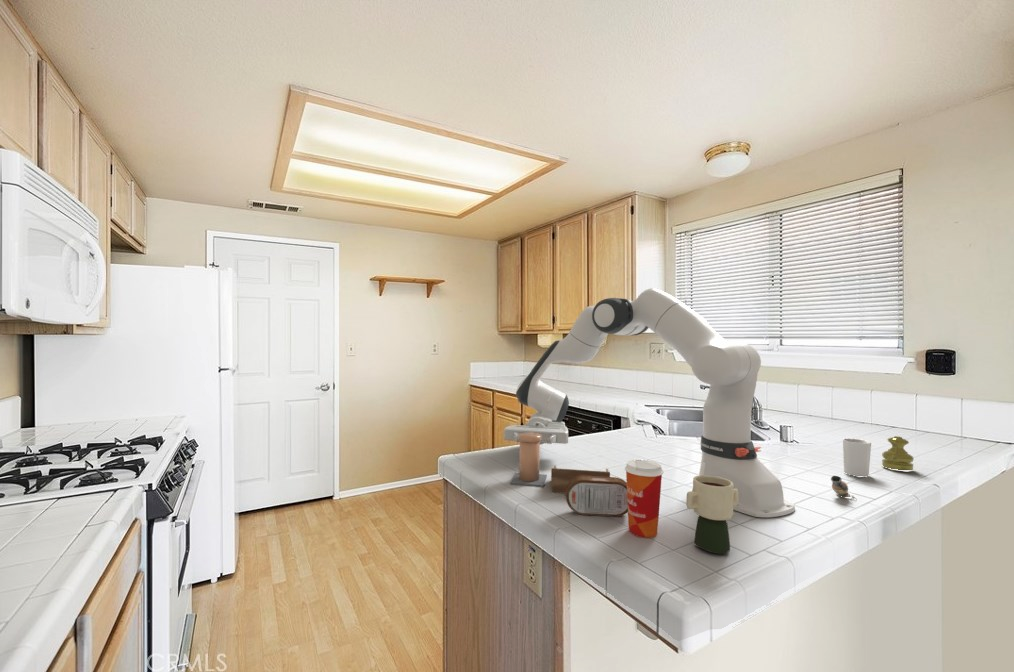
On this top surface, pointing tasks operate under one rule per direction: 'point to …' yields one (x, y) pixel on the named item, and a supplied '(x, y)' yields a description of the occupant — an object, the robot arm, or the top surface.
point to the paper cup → (643, 496)
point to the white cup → (856, 456)
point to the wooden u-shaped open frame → (570, 477)
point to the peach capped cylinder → (529, 456)
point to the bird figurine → (840, 487)
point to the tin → (597, 496)
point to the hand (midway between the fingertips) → (533, 440)
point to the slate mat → (540, 482)
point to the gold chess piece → (897, 455)
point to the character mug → (712, 511)
